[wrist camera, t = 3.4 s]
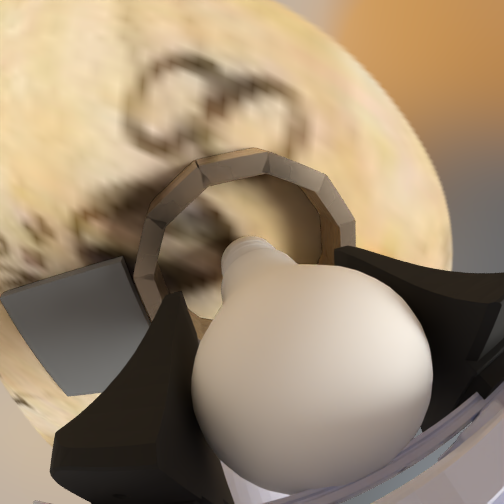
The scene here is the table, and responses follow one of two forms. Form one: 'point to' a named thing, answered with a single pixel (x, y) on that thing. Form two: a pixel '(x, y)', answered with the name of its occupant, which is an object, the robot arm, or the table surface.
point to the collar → (224, 170)
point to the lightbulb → (308, 372)
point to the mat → (81, 324)
